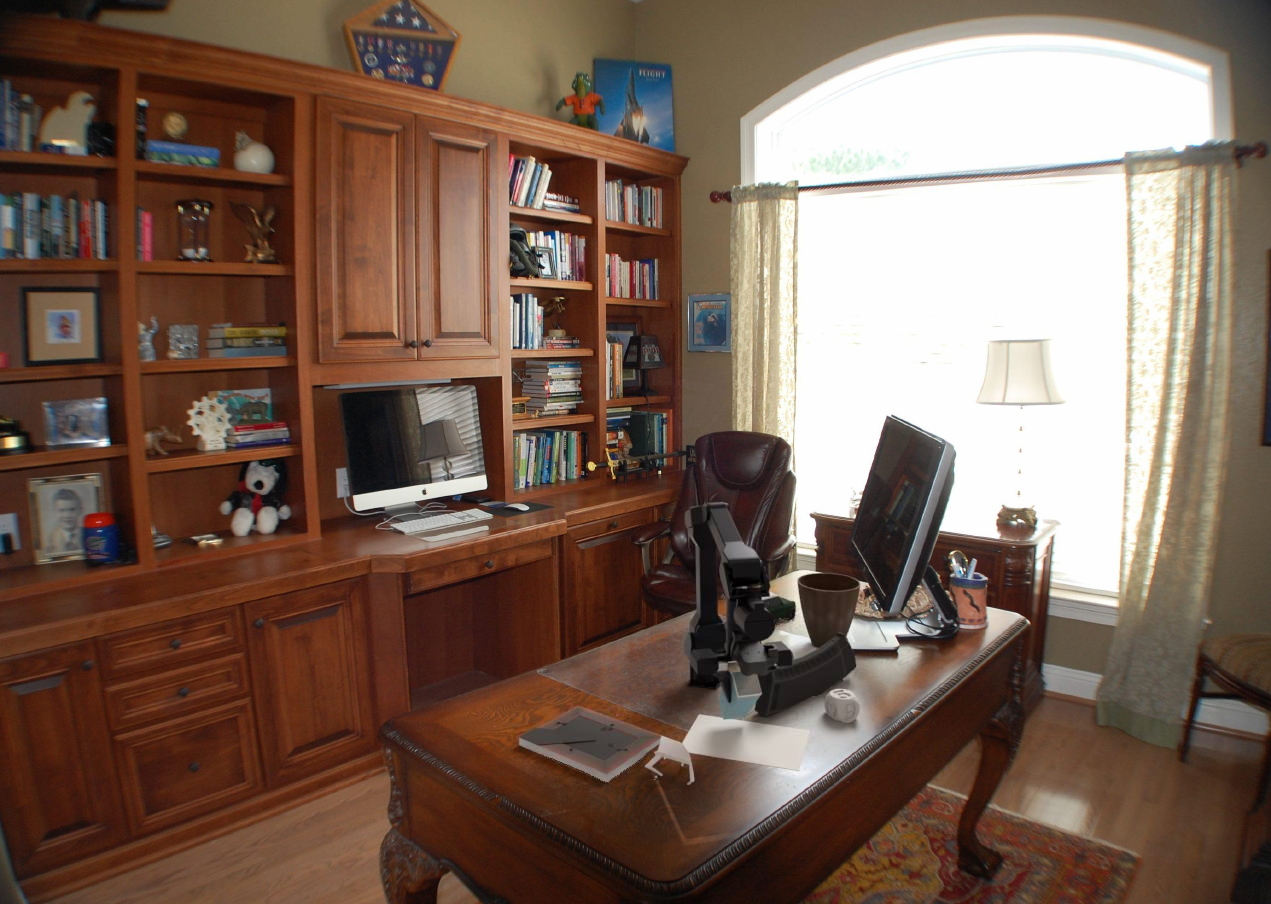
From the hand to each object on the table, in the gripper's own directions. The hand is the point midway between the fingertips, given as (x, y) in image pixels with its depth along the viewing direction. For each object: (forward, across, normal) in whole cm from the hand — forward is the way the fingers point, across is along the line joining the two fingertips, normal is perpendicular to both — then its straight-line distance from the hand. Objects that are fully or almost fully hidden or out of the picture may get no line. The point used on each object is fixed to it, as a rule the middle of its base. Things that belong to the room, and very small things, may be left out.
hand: (741, 700), depth 152 cm
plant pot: (+8, +36, +39) cm, 54 cm away
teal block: (+4, 0, +6) cm, 7 cm away
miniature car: (+8, +27, +59) cm, 65 cm away
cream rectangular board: (+7, 0, -2) cm, 8 cm away
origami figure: (+8, -16, -10) cm, 20 cm away
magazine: (+8, +20, +13) cm, 25 cm away
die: (+8, +22, +3) cm, 24 cm away
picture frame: (+8, -28, +4) cm, 30 cm away
